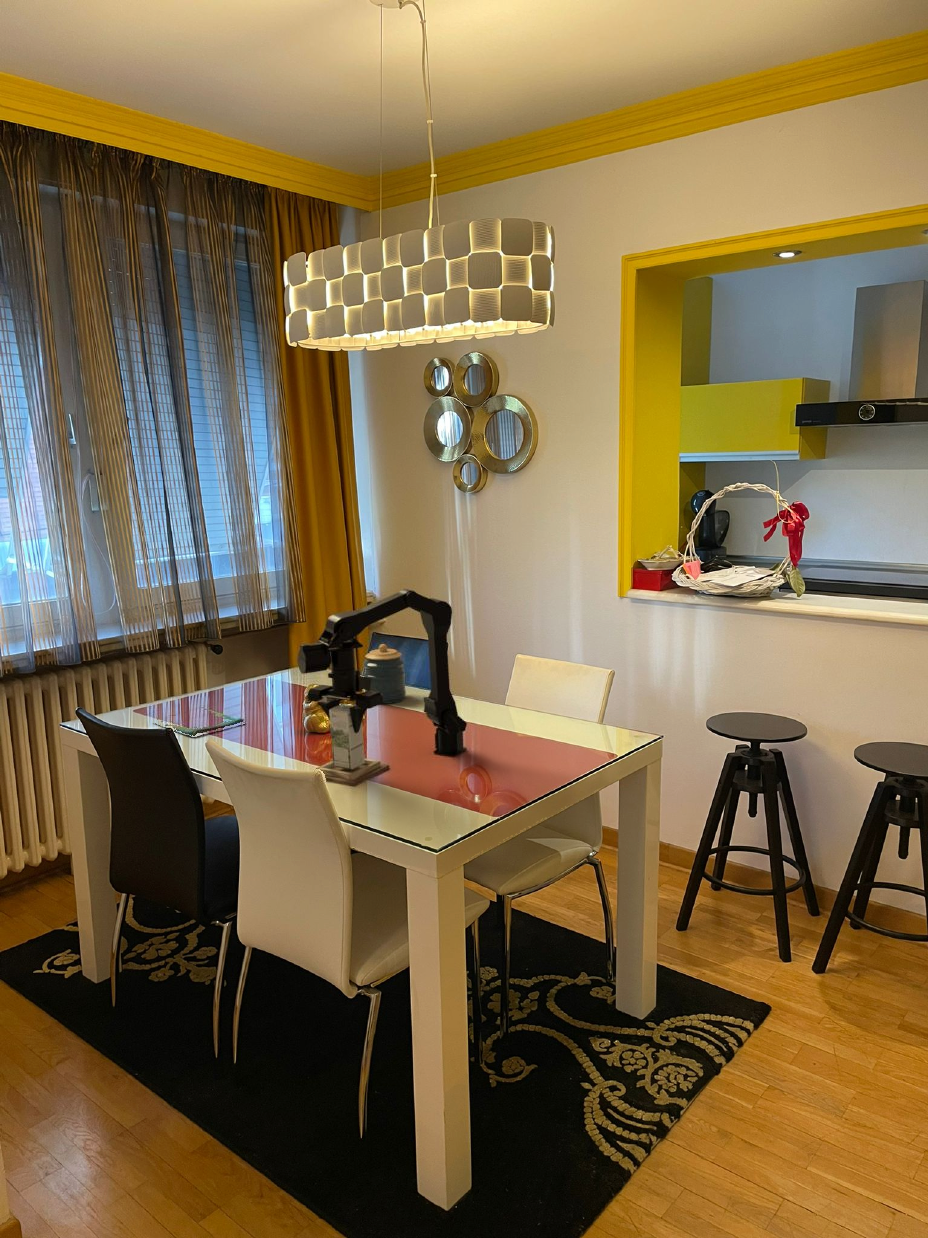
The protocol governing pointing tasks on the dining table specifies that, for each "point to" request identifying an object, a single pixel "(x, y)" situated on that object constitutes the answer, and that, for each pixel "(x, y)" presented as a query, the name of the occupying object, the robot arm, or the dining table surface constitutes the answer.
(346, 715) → the syrup box
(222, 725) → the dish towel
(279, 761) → the dining table surface
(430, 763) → the dining table surface
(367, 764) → the socket stand
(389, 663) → the canister
